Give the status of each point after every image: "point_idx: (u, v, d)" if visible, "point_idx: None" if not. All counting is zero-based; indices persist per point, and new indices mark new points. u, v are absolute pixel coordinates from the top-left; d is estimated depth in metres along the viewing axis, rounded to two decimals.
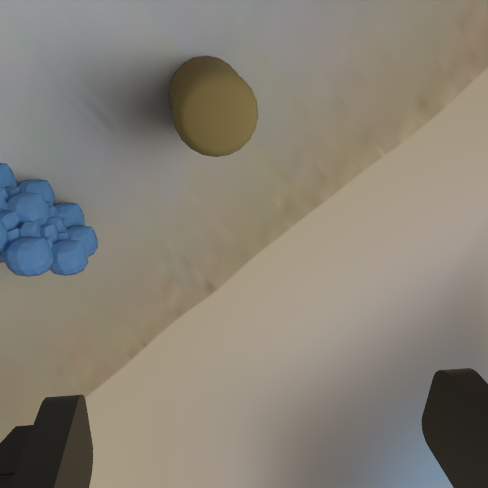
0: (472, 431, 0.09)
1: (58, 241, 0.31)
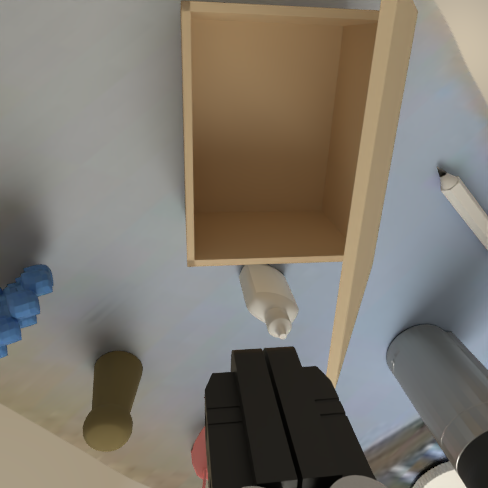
0: None
1: None
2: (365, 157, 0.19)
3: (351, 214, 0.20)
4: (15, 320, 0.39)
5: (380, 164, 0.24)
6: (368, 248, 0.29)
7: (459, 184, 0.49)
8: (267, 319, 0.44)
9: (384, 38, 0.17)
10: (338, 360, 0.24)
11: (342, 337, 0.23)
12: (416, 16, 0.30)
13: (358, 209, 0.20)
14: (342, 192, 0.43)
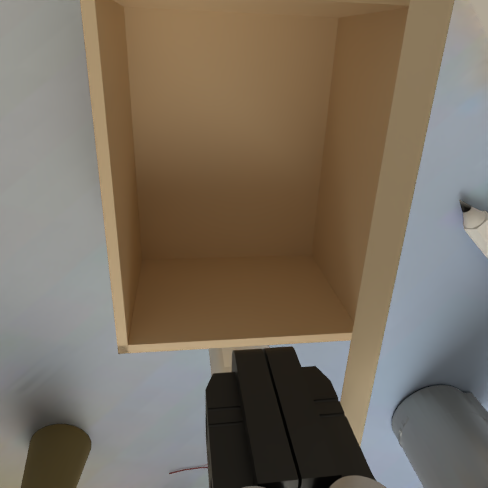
0: None
1: None
2: (375, 295, 0.08)
3: (344, 398, 0.10)
4: None
5: None
6: None
7: None
8: None
9: (430, 20, 0.06)
10: None
11: None
12: None
13: (359, 392, 0.09)
14: (337, 240, 0.32)
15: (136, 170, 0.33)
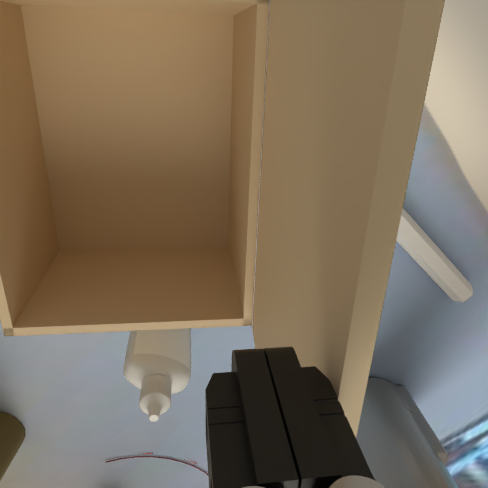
0: None
1: None
2: (371, 289, 0.09)
3: (342, 395, 0.10)
4: None
5: None
6: None
7: None
8: (141, 391, 0.34)
9: (423, 20, 0.07)
10: None
11: None
12: None
13: (356, 384, 0.10)
14: (236, 231, 0.33)
15: (46, 163, 0.34)
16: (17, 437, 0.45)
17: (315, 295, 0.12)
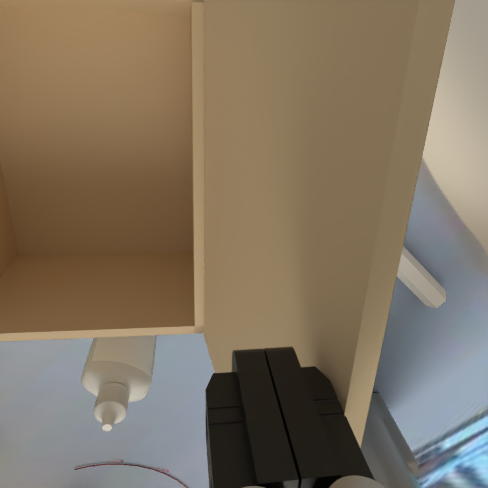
0: None
1: None
2: (379, 296, 0.08)
3: (349, 405, 0.09)
4: None
5: None
6: None
7: None
8: (97, 399, 0.33)
9: (434, 24, 0.06)
10: None
11: None
12: None
13: (362, 392, 0.09)
14: None
15: (1, 165, 0.34)
16: None
17: (301, 302, 0.11)
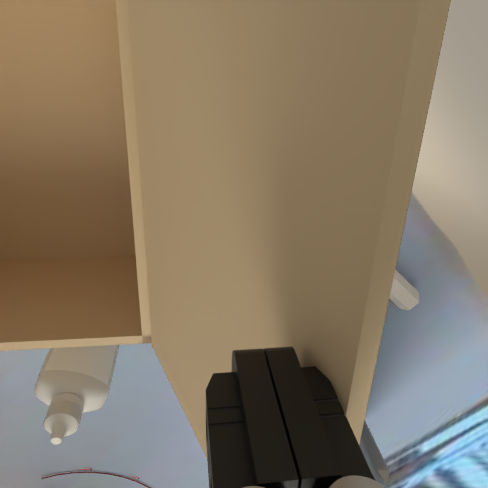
0: None
1: None
2: (378, 298, 0.08)
3: (350, 408, 0.09)
4: None
5: None
6: None
7: None
8: (48, 410, 0.32)
9: (433, 23, 0.06)
10: None
11: None
12: None
13: (362, 393, 0.09)
14: None
15: None
16: None
17: (283, 308, 0.11)
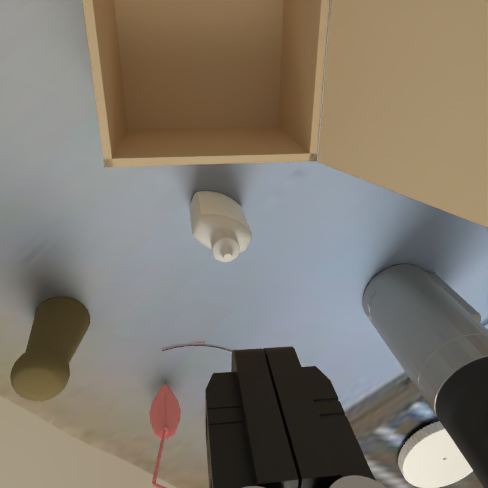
0: None
1: None
2: None
3: None
4: None
5: None
6: None
7: None
8: (212, 241, 0.38)
9: None
10: None
11: None
12: None
13: None
14: (294, 91, 0.37)
15: (118, 39, 0.38)
16: (84, 320, 0.49)
17: None
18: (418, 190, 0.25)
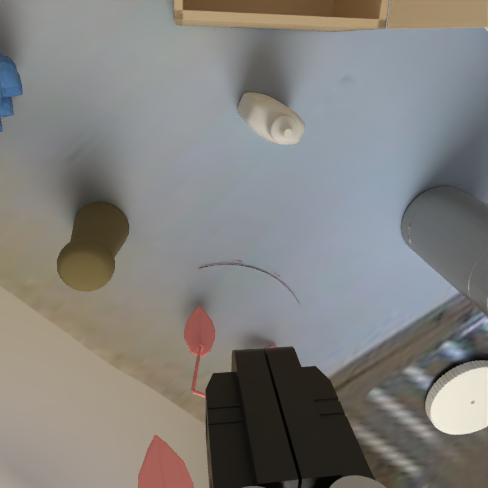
0: None
1: None
2: None
3: None
4: None
5: None
6: None
7: None
8: (269, 123, 0.38)
9: None
10: None
11: None
12: None
13: None
14: None
15: None
16: (125, 227, 0.48)
17: None
18: None
